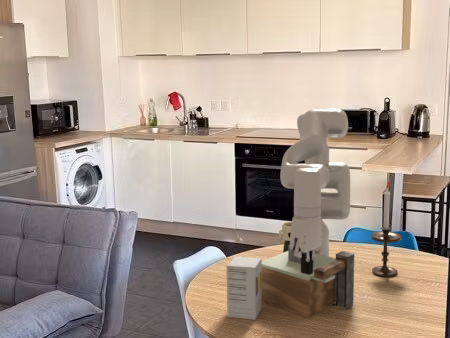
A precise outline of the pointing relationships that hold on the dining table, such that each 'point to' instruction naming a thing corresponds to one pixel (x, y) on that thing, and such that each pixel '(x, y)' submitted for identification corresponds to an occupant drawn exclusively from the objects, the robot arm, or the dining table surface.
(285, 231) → the character mug
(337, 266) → the brown wooden bar
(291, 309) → the brown wooden box
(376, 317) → the dining table surface
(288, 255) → the lid
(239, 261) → the supplement box
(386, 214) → the candlestick
